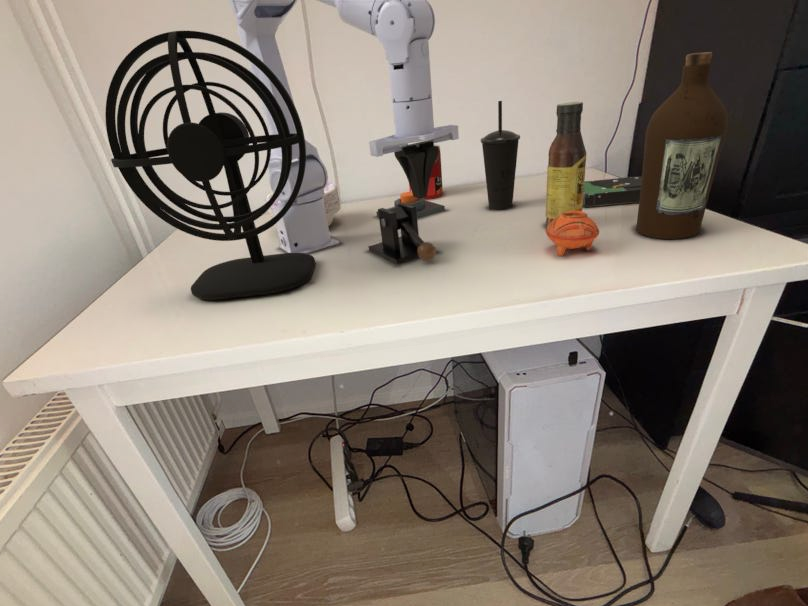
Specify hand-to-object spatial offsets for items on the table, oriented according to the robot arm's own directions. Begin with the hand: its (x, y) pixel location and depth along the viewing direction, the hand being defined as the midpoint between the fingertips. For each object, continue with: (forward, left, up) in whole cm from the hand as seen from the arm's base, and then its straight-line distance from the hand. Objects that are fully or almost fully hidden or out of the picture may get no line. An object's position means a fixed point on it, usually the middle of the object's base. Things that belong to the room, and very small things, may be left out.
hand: (420, 196), depth 76 cm
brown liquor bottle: (+35, -20, -11) cm, 42 cm away
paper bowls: (-7, +35, -11) cm, 37 cm away
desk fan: (-26, +13, -11) cm, 31 cm away
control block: (+13, +25, -10) cm, 30 cm away
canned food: (+24, +35, -11) cm, 44 cm away
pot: (+18, -15, -11) cm, 26 cm away
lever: (-1, +2, -8) cm, 8 cm away
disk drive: (+46, -1, -11) cm, 47 cm away
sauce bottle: (+27, -5, -11) cm, 29 cm away
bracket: (-1, +6, -10) cm, 12 cm away
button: (+13, +25, -8) cm, 29 cm away
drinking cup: (+28, +13, -11) cm, 33 cm away
